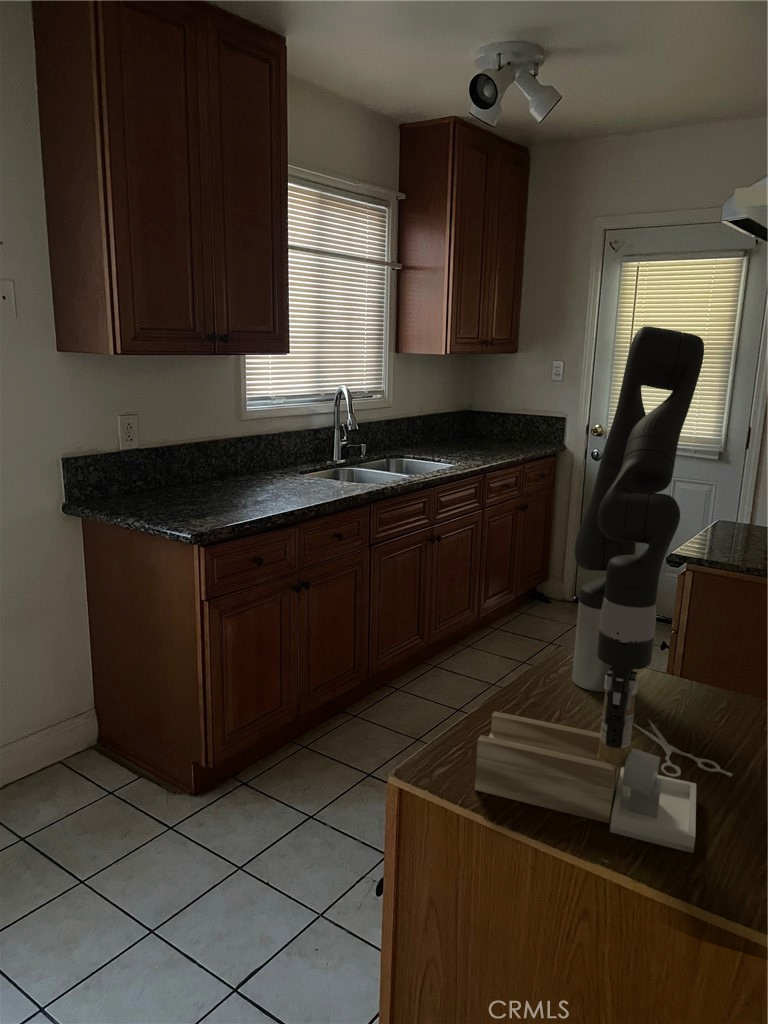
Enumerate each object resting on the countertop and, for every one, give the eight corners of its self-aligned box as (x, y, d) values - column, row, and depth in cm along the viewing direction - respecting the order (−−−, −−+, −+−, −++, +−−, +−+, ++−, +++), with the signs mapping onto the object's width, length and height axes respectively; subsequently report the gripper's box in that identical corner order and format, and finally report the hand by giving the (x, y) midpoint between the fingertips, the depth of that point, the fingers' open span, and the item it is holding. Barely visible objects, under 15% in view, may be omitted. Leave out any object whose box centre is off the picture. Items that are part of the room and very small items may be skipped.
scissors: (674, 781, 120) (611, 719, 139) (673, 785, 120) (611, 723, 139) (733, 775, 122) (663, 715, 141) (732, 779, 122) (663, 718, 141)
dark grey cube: (633, 773, 113) (661, 779, 112) (630, 796, 114) (658, 803, 113) (630, 786, 110) (659, 793, 108) (628, 811, 111) (657, 818, 109)
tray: (619, 781, 120) (621, 766, 119) (694, 798, 116) (696, 783, 115) (609, 831, 107) (611, 816, 107) (693, 853, 103) (695, 836, 103)
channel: (491, 758, 126) (494, 711, 124) (616, 787, 118) (621, 737, 116) (474, 789, 116) (477, 739, 115) (609, 823, 109) (614, 770, 107)
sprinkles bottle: (593, 752, 115) (601, 670, 112) (623, 753, 115) (632, 671, 112) (601, 769, 110) (610, 683, 107) (632, 770, 110) (642, 684, 107)
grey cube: (629, 772, 113) (632, 748, 112) (656, 781, 111) (660, 757, 110) (621, 784, 110) (625, 760, 109) (650, 794, 108) (654, 769, 107)
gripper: (605, 609, 116) (595, 711, 119) (592, 642, 103) (582, 756, 107) (657, 617, 113) (645, 721, 117) (651, 652, 100) (637, 768, 104)
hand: (615, 737), depth 112 cm, fingers closed on sprinkles bottle, 4 cm apart
